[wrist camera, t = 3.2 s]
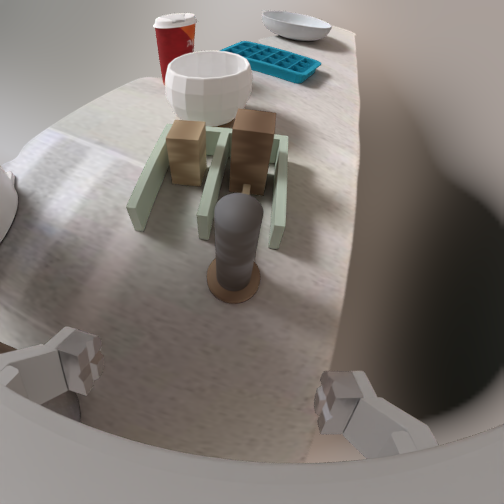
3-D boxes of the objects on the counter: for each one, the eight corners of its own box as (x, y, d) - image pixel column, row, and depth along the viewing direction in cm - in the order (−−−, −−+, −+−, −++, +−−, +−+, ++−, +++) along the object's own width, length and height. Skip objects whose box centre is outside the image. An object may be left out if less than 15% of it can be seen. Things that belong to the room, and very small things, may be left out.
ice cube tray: (301, 88, 50) (304, 76, 47) (215, 63, 54) (216, 51, 51) (320, 73, 56) (322, 62, 53) (243, 50, 59) (244, 40, 57)
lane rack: (135, 230, 30) (126, 207, 26) (169, 147, 37) (166, 123, 34) (278, 249, 30) (285, 226, 27) (283, 159, 37) (288, 136, 34)
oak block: (172, 183, 34) (165, 138, 28) (179, 164, 35) (175, 119, 29) (200, 186, 34) (198, 140, 28) (206, 166, 36) (205, 121, 29)
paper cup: (202, 84, 47) (202, 17, 35) (161, 92, 45) (156, 24, 33) (191, 70, 50) (191, 10, 38) (155, 77, 48) (150, 16, 36)
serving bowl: (337, 51, 66) (342, 32, 60) (266, 43, 63) (269, 21, 57) (315, 32, 77) (318, 15, 71) (254, 25, 73) (256, 8, 68)
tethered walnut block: (203, 299, 27) (193, 237, 18) (230, 167, 36) (234, 96, 27) (256, 306, 27) (274, 248, 18) (269, 173, 36) (282, 103, 27)
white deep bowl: (153, 118, 40) (146, 65, 32) (213, 92, 46) (214, 44, 37) (202, 153, 37) (200, 90, 28) (264, 120, 42) (273, 66, 34)
